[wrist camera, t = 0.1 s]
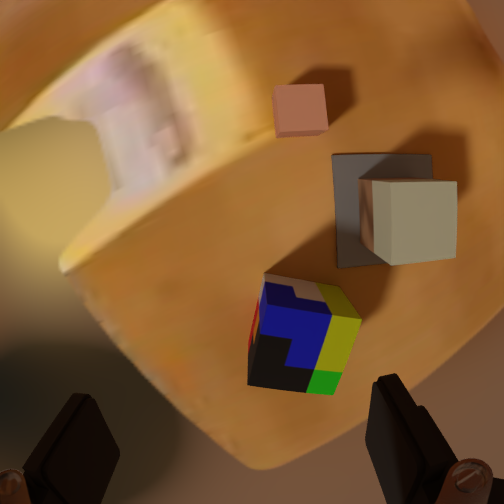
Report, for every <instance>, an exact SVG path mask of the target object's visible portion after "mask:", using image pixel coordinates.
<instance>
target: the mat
mask: <svg viewBox="0 0 504 504" xmlns="http://www.w3.org/2000/svg"><path fill="white" fill-rule="evenodd" d="M331 156H332V169H333V182H334V197H335V215H336V238H337V268H347V267H356V266H365V265H374V264H383V263H387V262H386V261H384V260H383V259H381V258H380V257H379V256H377V255H376V254H375V253H373V252H372V251H370V250H369V249H368V248H366V247H365V246H363V245H362V244H361V243H360V217H359V195H358V179H370V178H407V177H415V178H427V179H433V174H432V157H431V155H423V154H359V155H331Z"/></svg>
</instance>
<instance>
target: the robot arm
mask: <svg viewBox="0 0 504 504" xmlns="http://www.w3.org/2000/svg"><path fill="white" fill-rule="evenodd" d="M365 441H366V446H367V449H368V452H369V455H370V457H371V460H372V463H373V466H374V468H375V471H376V474H377V476H378V479H379V482H380V485H381V488H382V491H383V494H384V496H385V500H386V502H387V504H504V479H499V478H494V477H493V473H492V469H491V468H490V467H489V465H488V464H486V463H485V462H484V461H482V460H479V459H475V458H468V459H463V460H461V461H458V459H457V458H456V456H455V454H454V453H453V451H452V449H451V448H450V446H449V444H448V443H447V441H446V440H445V438H444V436H443V435H442V433H441V432H440V430H439V428H438V427H437V425H436V424H435V422H434V421H433V419H432V417H431V416H430V414H429V413H428V411H427V410H426V409H425V407H424V406H422V405H421V406H417V405H416V404H415V402H414V400H413V399H412V397H411V396H410V394H409V392H408V391H407V389H406V388H405V386H404V384H403V383H402V381H401V380H400V378H399V377H398V375H397V374H395V373H394V374H389V375H385V376H380V377H379V378H378V380H377V382H373V385H372V393H371V401H370V409H369V416H368V423H367V430H366V436H365ZM119 457H120V451H119V448H118V446H117V444H116V443H115V440H114V438H113V436H112V434H111V432H110V430H109V428H108V426H107V424H106V422H105V420H104V418H103V416H102V414H101V411H100V409H99V407H98V405H97V403H96V401H95V399H93V398H92V397H91V396H90V395H89V394H83V393H74V394H72V396H71V397H70V398H69V400H68V401H67V403H66V404H65V405H64V407H63V408H62V410H61V411H60V412H59V414H58V415H57V417H56V418H55V420H54V421H53V422H52V424H51V425H50V427H49V428H48V430H47V431H46V433H45V434H44V436H43V437H42V439H41V440H40V441H39V443H38V445H37V446H36V447H35V449H34V450H33V452H32V453H31V455H30V456H29V458H28V459H27V461H26V463H25V464H24V466H23V467H22V468H23V469H24V470H25V472H24V474H22V473H21V472H20V471H18V470H15V469H7V470H4V471H2V472H0V504H101V502H102V499H103V497H104V494H105V492H106V489H107V486H108V484H109V481H110V479H111V476H112V474H113V472H114V469H115V467H116V464H117V462H118V460H119Z"/></svg>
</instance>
